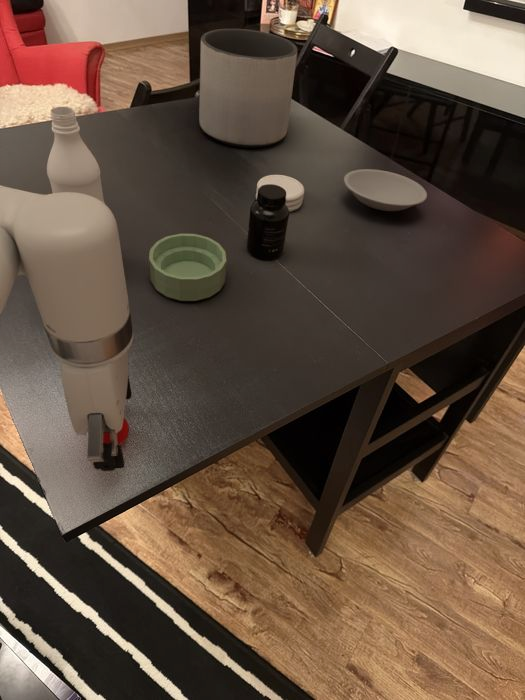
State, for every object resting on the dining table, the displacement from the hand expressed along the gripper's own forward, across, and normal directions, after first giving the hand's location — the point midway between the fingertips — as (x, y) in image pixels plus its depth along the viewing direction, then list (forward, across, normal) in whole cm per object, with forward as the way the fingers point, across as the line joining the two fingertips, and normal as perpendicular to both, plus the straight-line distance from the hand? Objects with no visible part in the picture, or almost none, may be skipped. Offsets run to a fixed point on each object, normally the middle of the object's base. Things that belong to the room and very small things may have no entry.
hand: (114, 430), depth 57 cm
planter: (+2, -92, +23) cm, 95 cm away
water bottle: (+2, -34, -7) cm, 35 cm away
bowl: (+2, -31, +9) cm, 32 cm away
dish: (+3, -57, +50) cm, 76 cm away
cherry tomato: (+2, 0, 0) cm, 2 cm away
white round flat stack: (+2, -58, +28) cm, 64 cm away
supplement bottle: (+2, -40, +23) cm, 46 cm away
